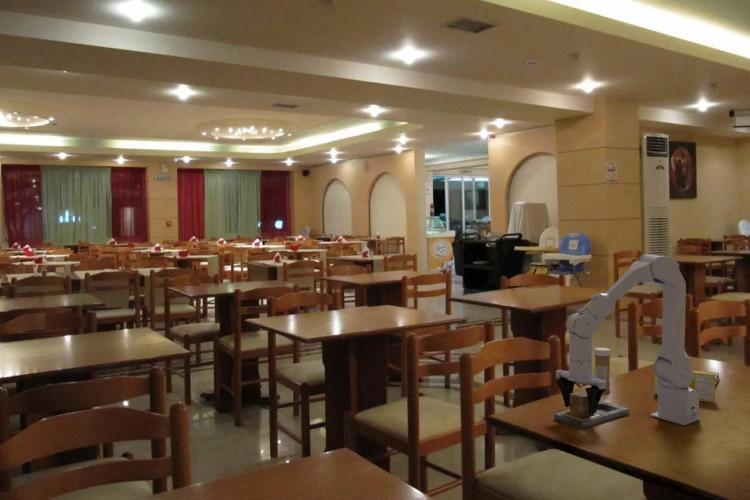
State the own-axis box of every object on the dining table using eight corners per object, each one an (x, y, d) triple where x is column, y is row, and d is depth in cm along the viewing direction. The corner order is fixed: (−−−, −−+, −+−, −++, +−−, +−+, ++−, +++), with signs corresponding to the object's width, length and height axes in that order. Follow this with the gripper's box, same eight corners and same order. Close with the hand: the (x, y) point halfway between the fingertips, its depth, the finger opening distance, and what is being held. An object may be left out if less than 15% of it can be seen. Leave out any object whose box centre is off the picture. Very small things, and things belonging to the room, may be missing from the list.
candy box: (715, 401, 176) (716, 373, 176) (714, 403, 174) (714, 375, 174) (655, 392, 186) (655, 366, 186) (653, 394, 184) (654, 367, 184)
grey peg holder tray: (629, 413, 166) (629, 407, 166) (582, 428, 155) (582, 422, 155) (600, 405, 173) (600, 400, 173) (554, 419, 162) (554, 413, 162)
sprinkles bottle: (613, 392, 187) (613, 348, 186) (603, 394, 184) (604, 350, 184) (600, 388, 191) (600, 346, 190) (591, 391, 188) (591, 348, 187)
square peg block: (591, 420, 161) (592, 394, 161) (582, 423, 159) (582, 397, 158) (579, 416, 164) (579, 391, 164) (569, 419, 162) (569, 393, 162)
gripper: (548, 356, 164) (548, 405, 165) (594, 366, 152) (594, 419, 153) (565, 352, 168) (565, 401, 169) (611, 362, 156) (611, 414, 157)
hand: (580, 409), depth 161 cm, fingers open, 7 cm apart
